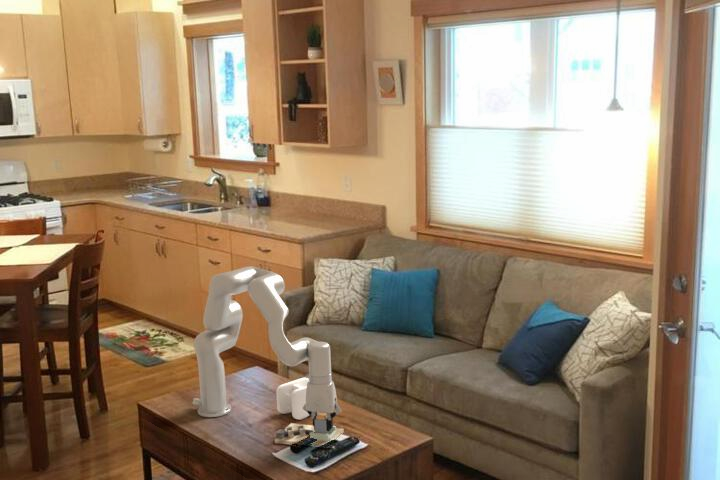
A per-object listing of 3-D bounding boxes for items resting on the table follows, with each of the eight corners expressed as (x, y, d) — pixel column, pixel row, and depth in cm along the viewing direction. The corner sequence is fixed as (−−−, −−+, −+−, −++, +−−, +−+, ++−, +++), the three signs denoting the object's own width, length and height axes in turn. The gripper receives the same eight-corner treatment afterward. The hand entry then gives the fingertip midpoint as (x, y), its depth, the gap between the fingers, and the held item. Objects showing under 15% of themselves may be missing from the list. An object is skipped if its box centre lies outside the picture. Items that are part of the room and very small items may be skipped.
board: (275, 442, 268) (274, 433, 268) (291, 426, 281) (290, 416, 281) (329, 449, 262) (329, 439, 262) (343, 431, 275) (343, 422, 275)
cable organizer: (293, 423, 284) (291, 392, 282) (276, 415, 292) (274, 385, 290) (325, 411, 294) (324, 382, 292) (308, 403, 302) (307, 375, 300)
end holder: (309, 439, 268) (309, 433, 267) (317, 430, 275) (317, 424, 274) (329, 441, 265) (329, 435, 265) (337, 432, 272) (337, 426, 272)
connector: (315, 433, 268) (314, 416, 267) (319, 428, 272) (318, 412, 271) (326, 434, 267) (325, 418, 266) (330, 429, 271) (329, 413, 269)
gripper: (293, 380, 265) (296, 431, 269) (340, 384, 260) (342, 436, 263) (301, 372, 272) (304, 422, 276) (347, 376, 267) (349, 427, 270)
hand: (323, 428), depth 270 cm, fingers closed on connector, 4 cm apart
